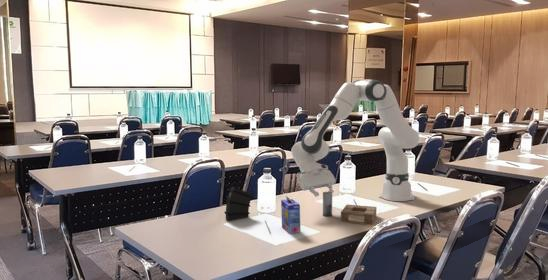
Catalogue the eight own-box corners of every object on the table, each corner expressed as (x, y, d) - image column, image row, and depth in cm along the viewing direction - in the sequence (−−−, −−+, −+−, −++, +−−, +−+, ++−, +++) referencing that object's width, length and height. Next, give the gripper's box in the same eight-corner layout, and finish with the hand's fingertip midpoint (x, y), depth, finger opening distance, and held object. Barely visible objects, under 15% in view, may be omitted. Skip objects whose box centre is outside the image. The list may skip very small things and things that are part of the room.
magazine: (218, 216, 208) (230, 185, 210) (241, 224, 215) (253, 194, 217) (222, 218, 205) (234, 187, 207) (245, 226, 212) (257, 196, 213)
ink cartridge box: (280, 226, 198) (280, 194, 196) (292, 225, 199) (292, 193, 198) (288, 233, 188) (288, 199, 187) (300, 232, 190) (300, 198, 188)
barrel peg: (324, 213, 217) (324, 191, 216) (333, 214, 216) (333, 192, 215) (321, 216, 213) (321, 193, 212) (330, 217, 212) (331, 194, 211)
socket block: (346, 213, 218) (346, 204, 217) (376, 216, 213) (376, 206, 212) (340, 221, 204) (340, 212, 204) (372, 224, 199) (372, 215, 199)
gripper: (297, 169, 213) (311, 193, 207) (329, 164, 226) (343, 187, 219) (291, 177, 217) (305, 201, 211) (323, 172, 230) (336, 195, 223)
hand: (324, 194), depth 215 cm, fingers open, 8 cm apart
